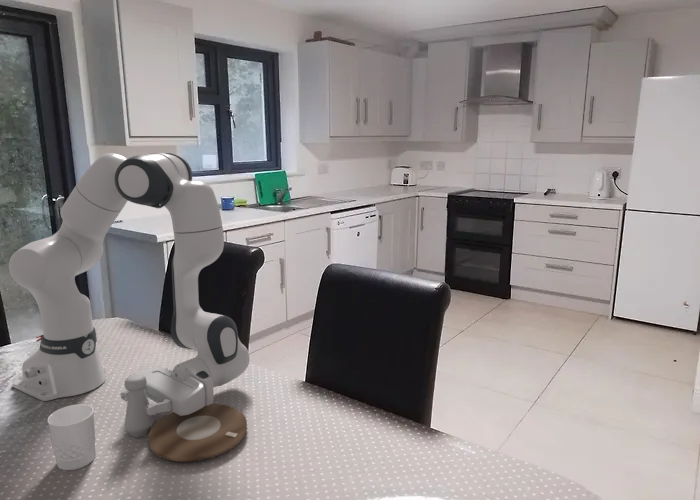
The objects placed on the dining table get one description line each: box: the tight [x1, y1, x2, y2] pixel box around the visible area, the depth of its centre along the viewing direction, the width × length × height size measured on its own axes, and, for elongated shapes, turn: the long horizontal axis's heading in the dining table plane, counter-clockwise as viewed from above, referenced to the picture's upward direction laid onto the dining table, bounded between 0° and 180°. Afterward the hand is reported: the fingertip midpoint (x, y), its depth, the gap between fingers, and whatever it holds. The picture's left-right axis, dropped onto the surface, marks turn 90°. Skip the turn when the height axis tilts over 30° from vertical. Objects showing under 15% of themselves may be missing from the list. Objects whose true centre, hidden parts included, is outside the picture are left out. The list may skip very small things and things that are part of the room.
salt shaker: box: [123, 374, 155, 438], centre depth 108 cm, size 6×6×13 cm
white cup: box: [46, 403, 97, 471], centre depth 99 cm, size 8×8×10 cm
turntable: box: [148, 403, 248, 462], centre depth 108 cm, size 20×20×1 cm
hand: (134, 404), depth 107 cm, fingers open, 8 cm apart
